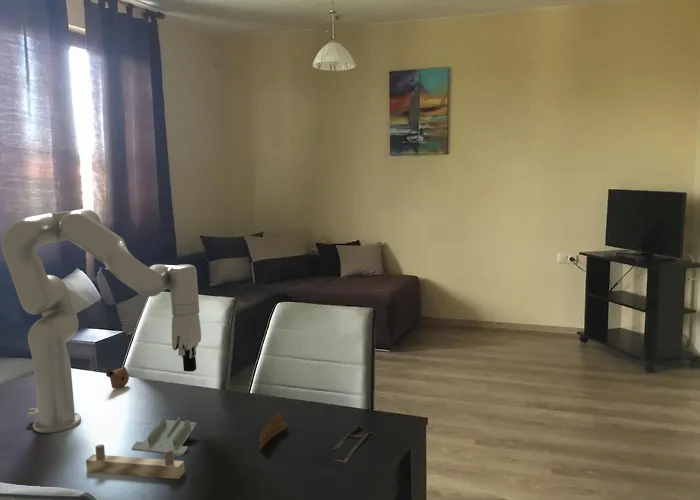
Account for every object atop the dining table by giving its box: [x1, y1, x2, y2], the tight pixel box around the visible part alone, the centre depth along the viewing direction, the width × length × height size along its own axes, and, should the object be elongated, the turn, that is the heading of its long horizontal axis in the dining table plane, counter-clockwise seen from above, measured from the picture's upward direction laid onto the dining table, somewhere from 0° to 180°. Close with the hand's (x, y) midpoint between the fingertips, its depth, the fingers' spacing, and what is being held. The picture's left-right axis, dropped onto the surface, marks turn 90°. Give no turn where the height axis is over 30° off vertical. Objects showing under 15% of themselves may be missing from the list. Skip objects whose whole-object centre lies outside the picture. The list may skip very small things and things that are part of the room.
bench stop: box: [85, 444, 186, 480], centre depth 154 cm, size 24×3×6 cm, turn 80°
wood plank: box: [258, 410, 288, 451], centre depth 172 cm, size 15×2×5 cm, turn 163°
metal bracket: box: [131, 416, 197, 456], centre depth 171 cm, size 14×6×15 cm
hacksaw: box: [333, 424, 376, 472], centre depth 166 cm, size 24×10×1 cm, turn 155°
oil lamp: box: [105, 366, 130, 390], centre depth 211 cm, size 9×4×8 cm, turn 154°
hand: (190, 370), depth 184 cm, fingers closed
